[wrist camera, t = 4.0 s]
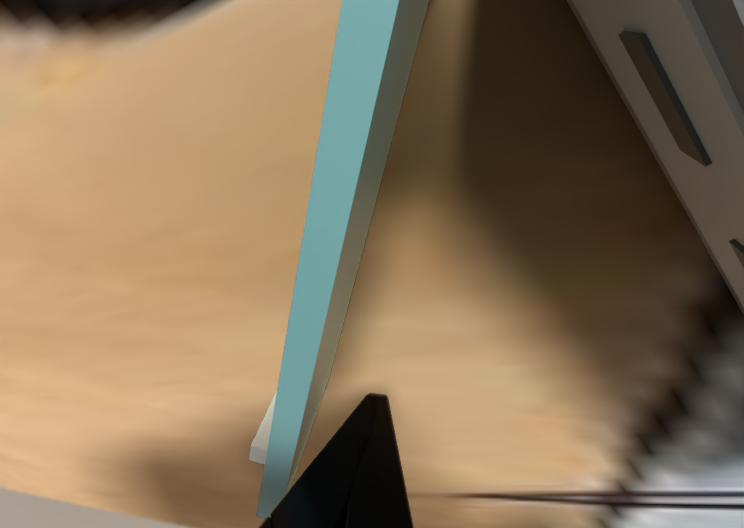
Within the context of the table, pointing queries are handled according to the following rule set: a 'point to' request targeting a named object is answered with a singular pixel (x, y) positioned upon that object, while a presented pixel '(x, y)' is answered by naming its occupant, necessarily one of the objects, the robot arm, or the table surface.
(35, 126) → the table surface
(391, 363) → the table surface
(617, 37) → the box
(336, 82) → the side door
